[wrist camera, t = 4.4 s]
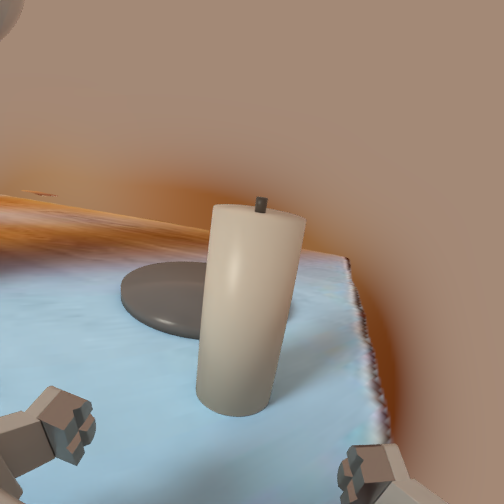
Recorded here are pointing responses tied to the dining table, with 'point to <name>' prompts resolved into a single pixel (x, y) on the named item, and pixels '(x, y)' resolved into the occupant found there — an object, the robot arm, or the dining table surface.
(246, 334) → the candle
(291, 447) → the dining table surface
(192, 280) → the plate
